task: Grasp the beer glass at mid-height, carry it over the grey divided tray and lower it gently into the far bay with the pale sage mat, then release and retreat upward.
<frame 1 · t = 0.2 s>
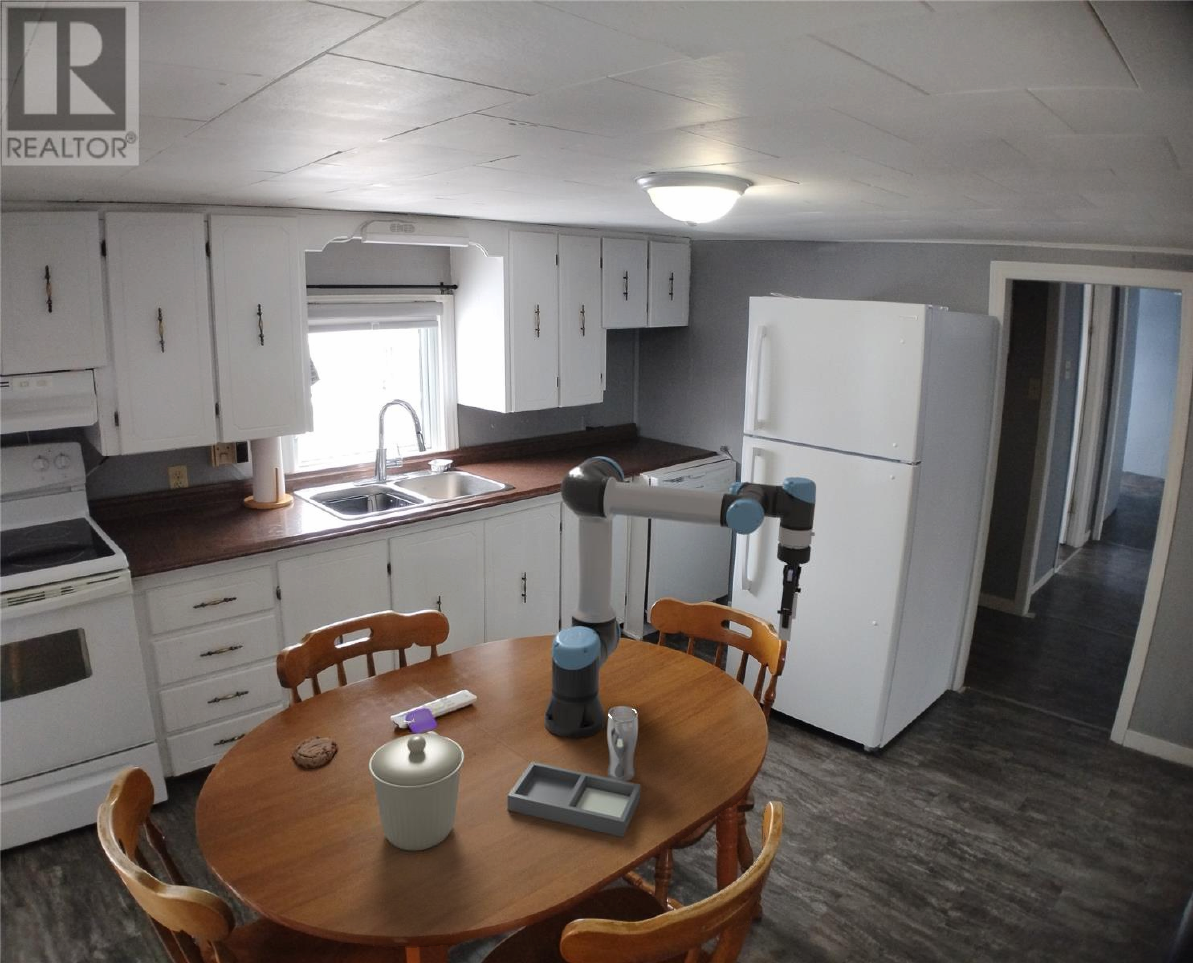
hand: (787, 628, 193), 28 cm above the table, fingers open, 13 cm apart
beer glass: (620, 774, 181), on the table
cookie: (316, 756, 185), on the table
grey divided tray: (574, 804, 170), on the table
spatula: (433, 742, 193), on the table
canister: (419, 833, 160), on the table
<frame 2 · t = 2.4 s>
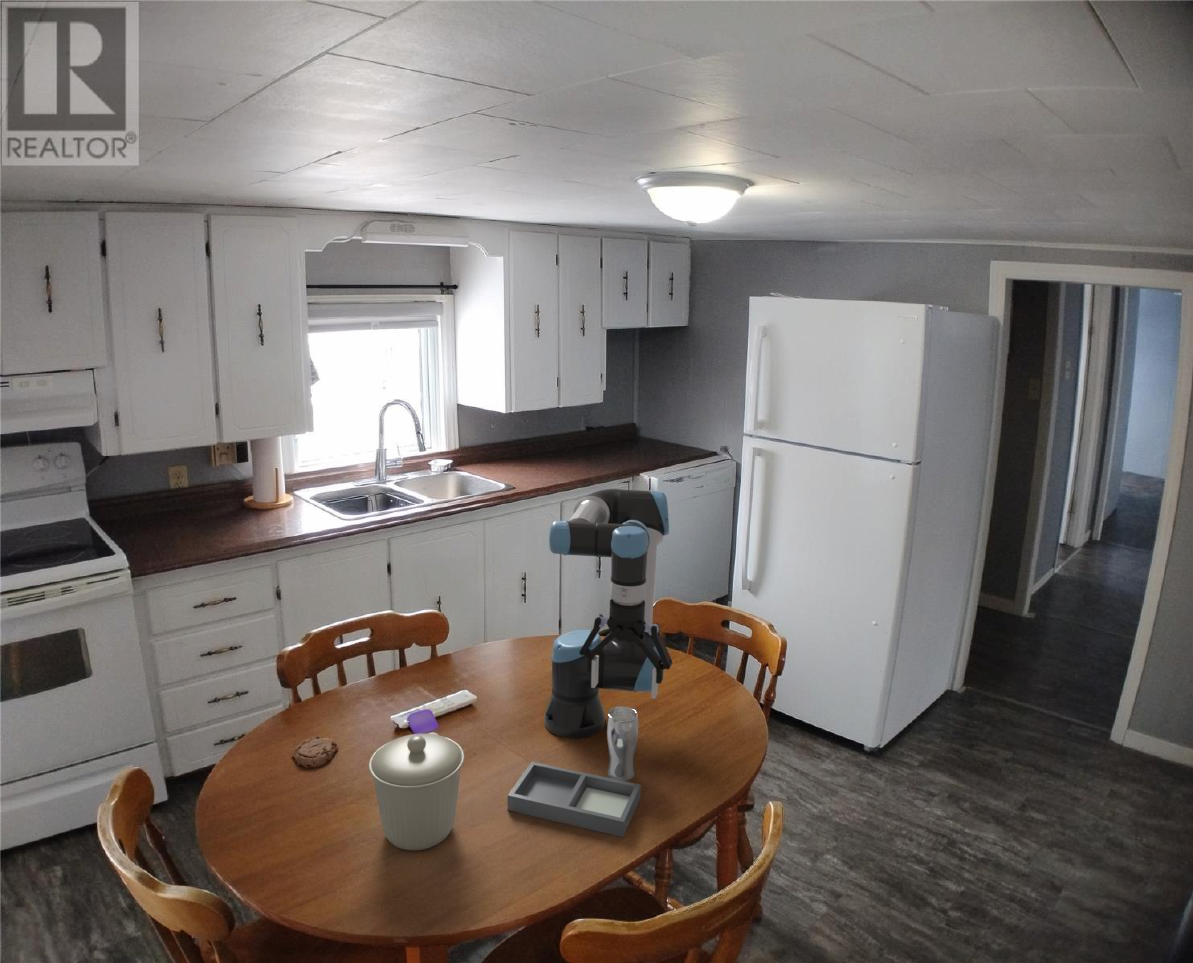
hand: (624, 690, 176), 21 cm above the table, fingers open, 13 cm apart
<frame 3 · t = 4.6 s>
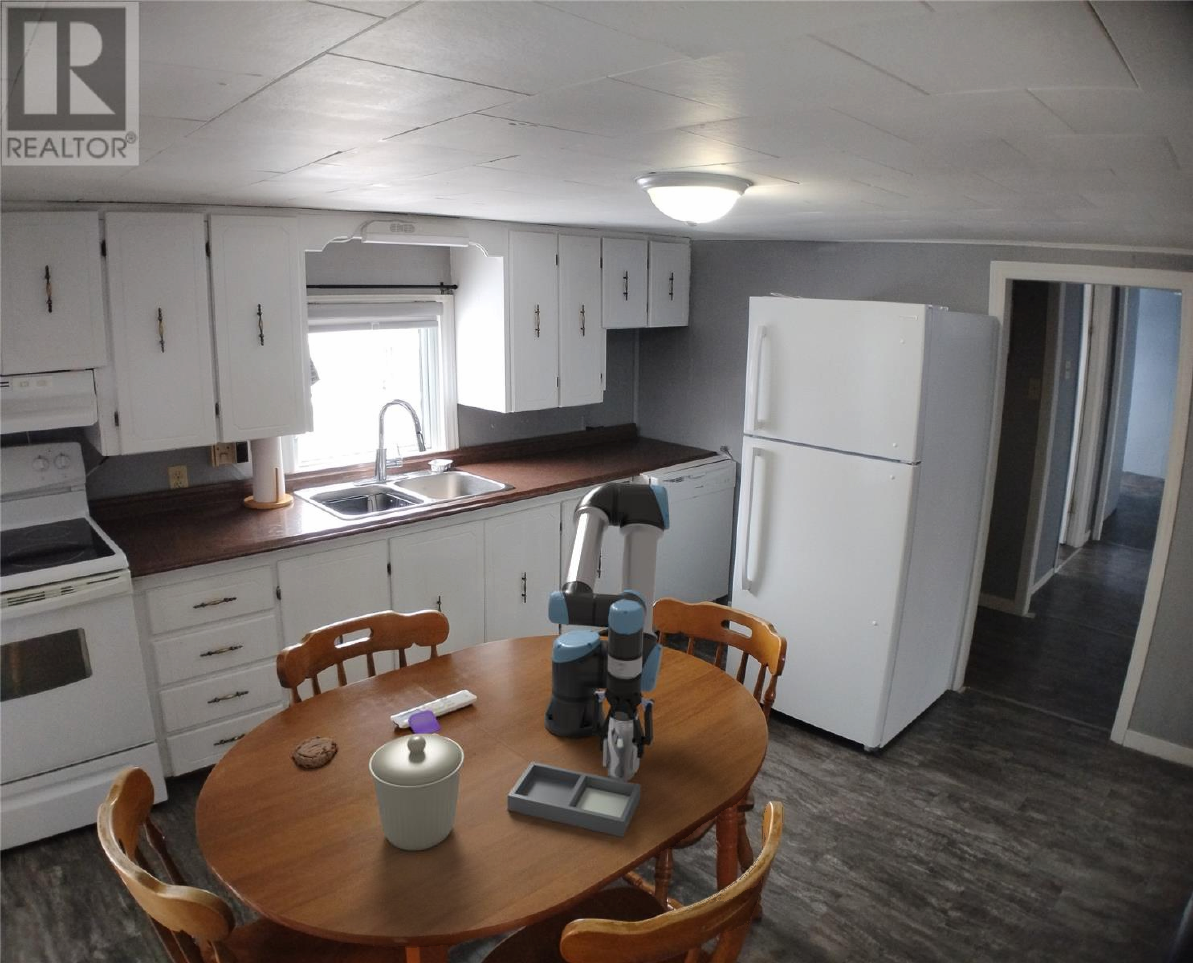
hand: (620, 765, 180), 2 cm above the table, fingers closed on beer glass, 6 cm apart
beer glass: (620, 774, 181), on the table, touching gripper
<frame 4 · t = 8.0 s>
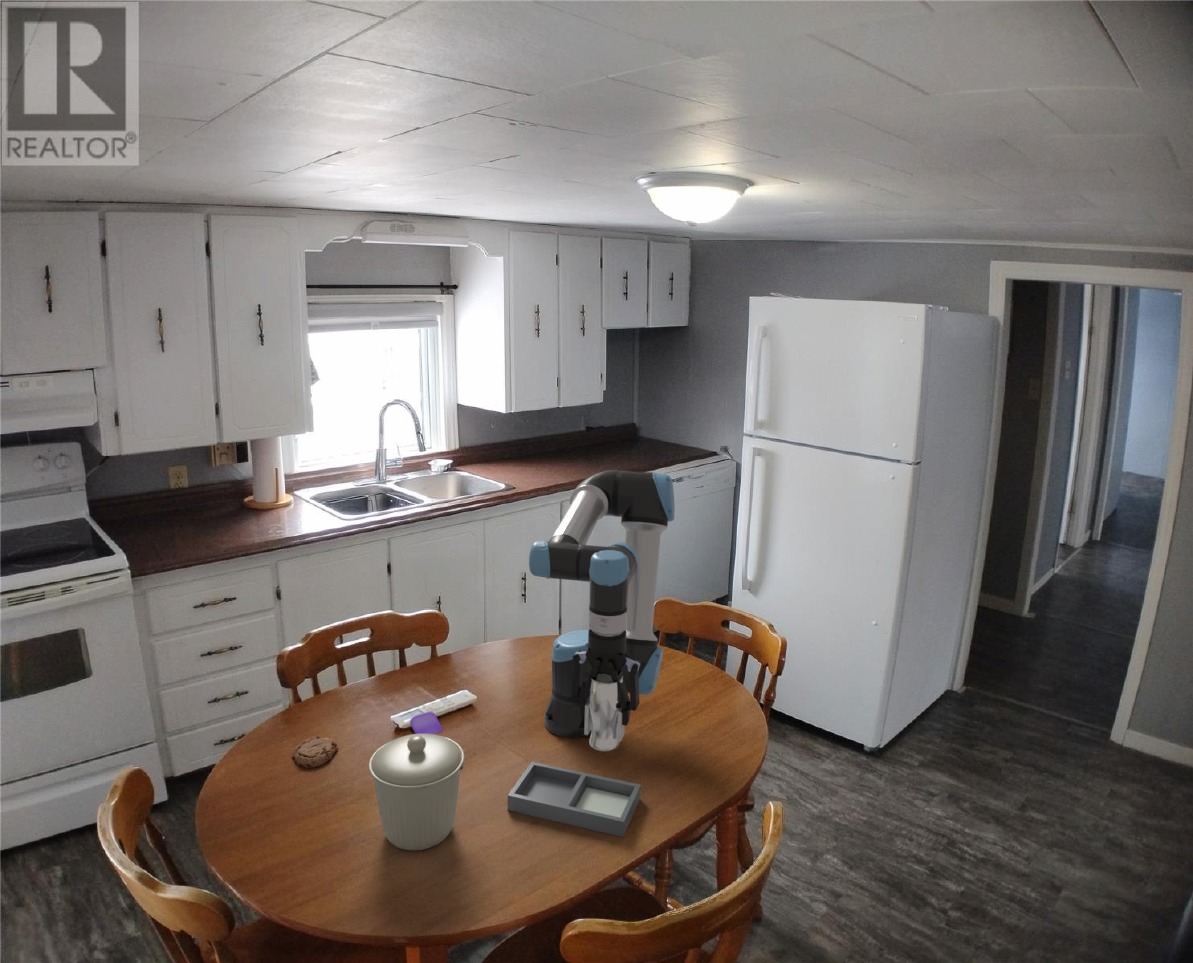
hand: (604, 734, 164), 18 cm above the table, fingers closed on beer glass, 6 cm apart
beer glass: (603, 743, 164), point 16 cm above the table, touching gripper
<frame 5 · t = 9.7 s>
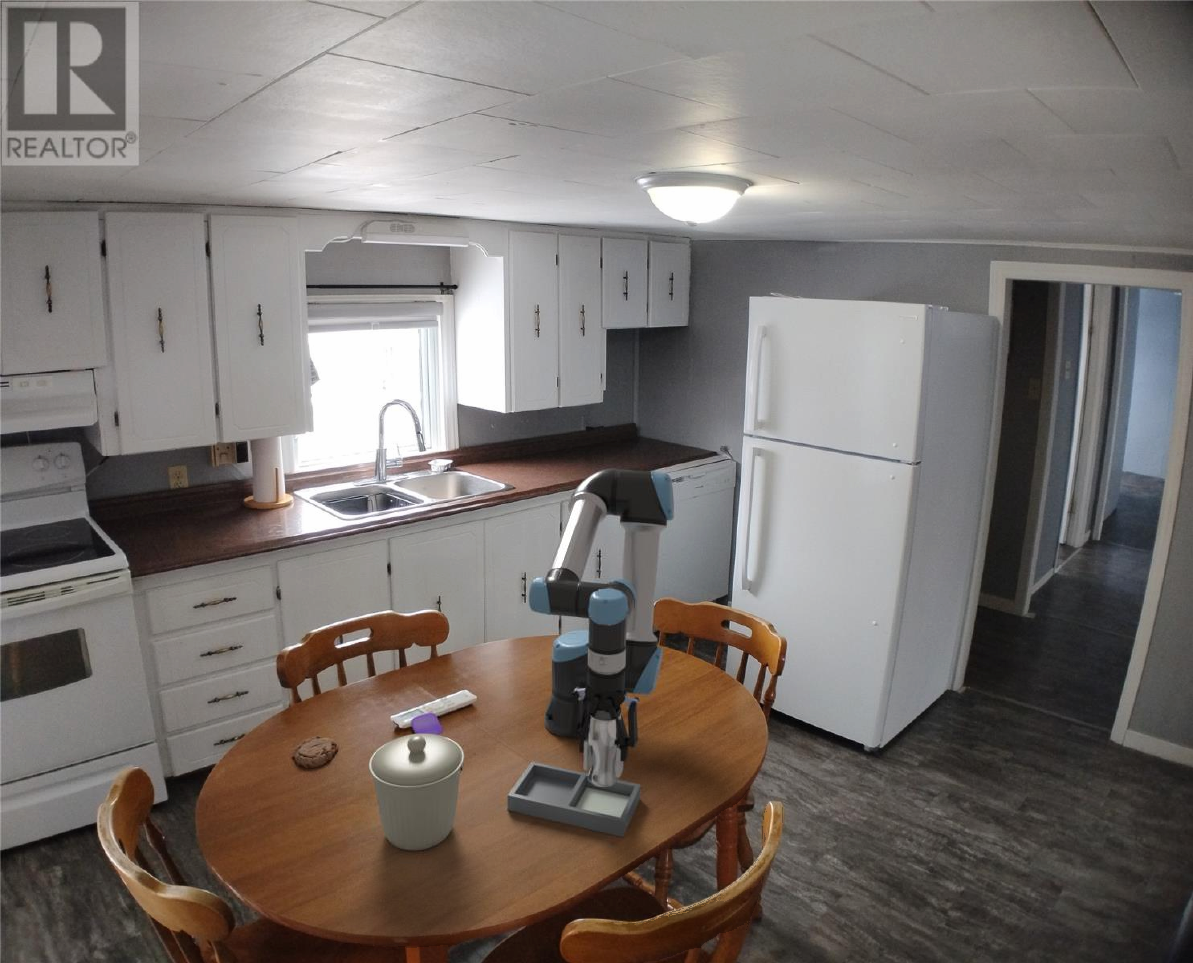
hand: (603, 769, 166), 10 cm above the table, fingers closed on beer glass, 6 cm apart
beer glass: (602, 779, 166), point 7 cm above the table, touching gripper
when the fingers open (5 cm above the table, at t = 11.2 s): beer glass drops 2 cm, resting on grey divided tray.
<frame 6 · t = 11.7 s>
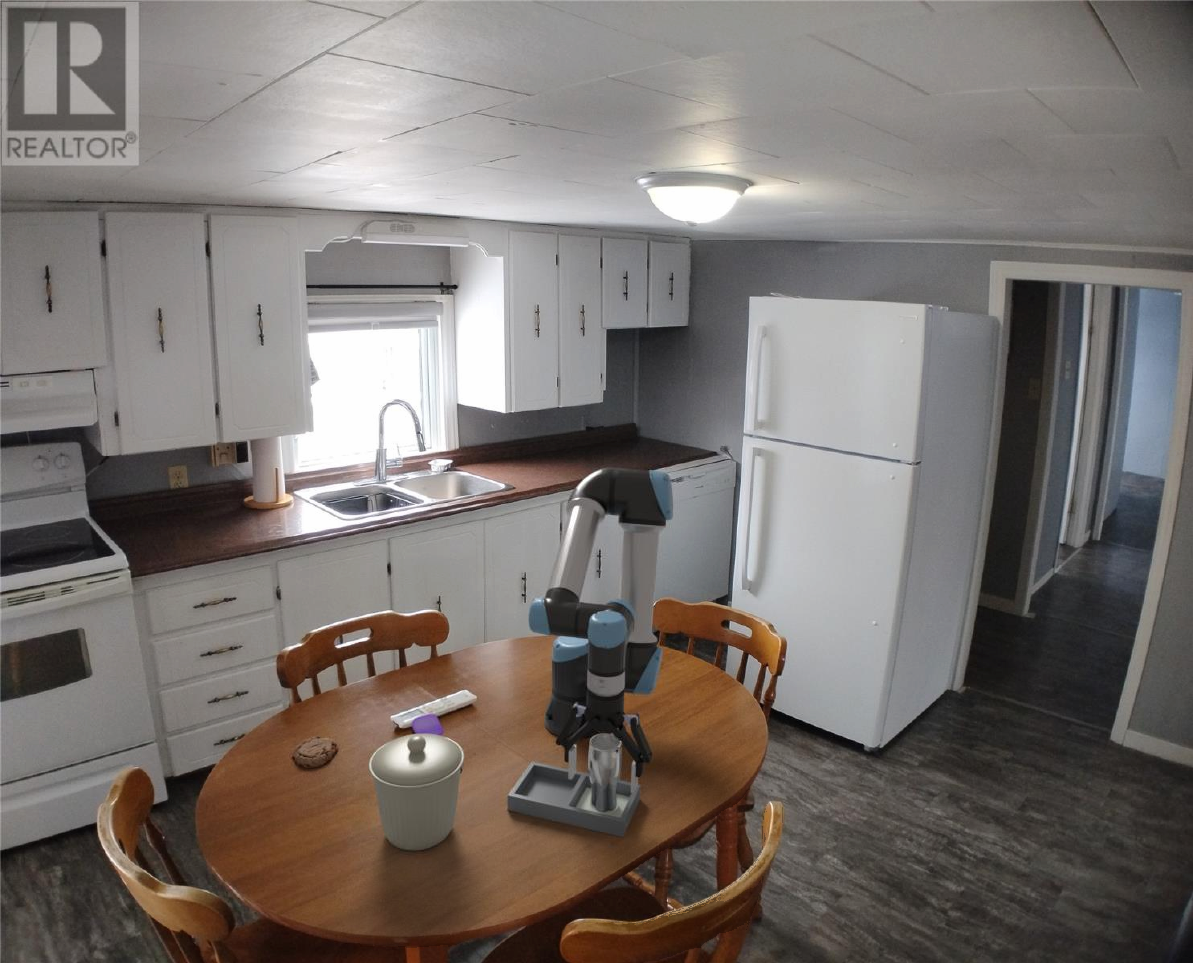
hand: (602, 782, 166), 7 cm above the table, fingers open, 13 cm apart
beer glass: (603, 807, 168), point 1 cm above the table, touching grey divided tray
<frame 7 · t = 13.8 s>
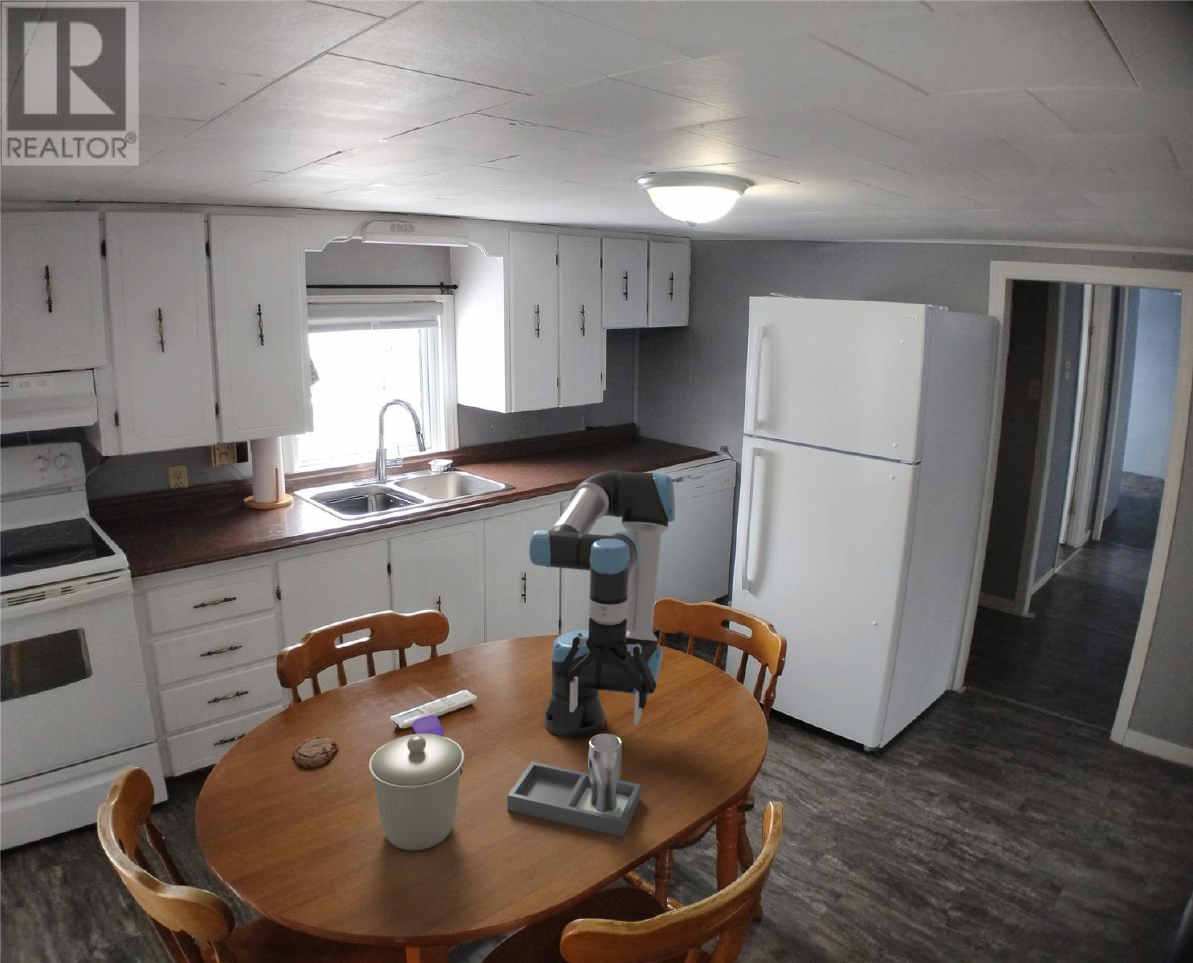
hand: (605, 714, 164), 22 cm above the table, fingers open, 13 cm apart
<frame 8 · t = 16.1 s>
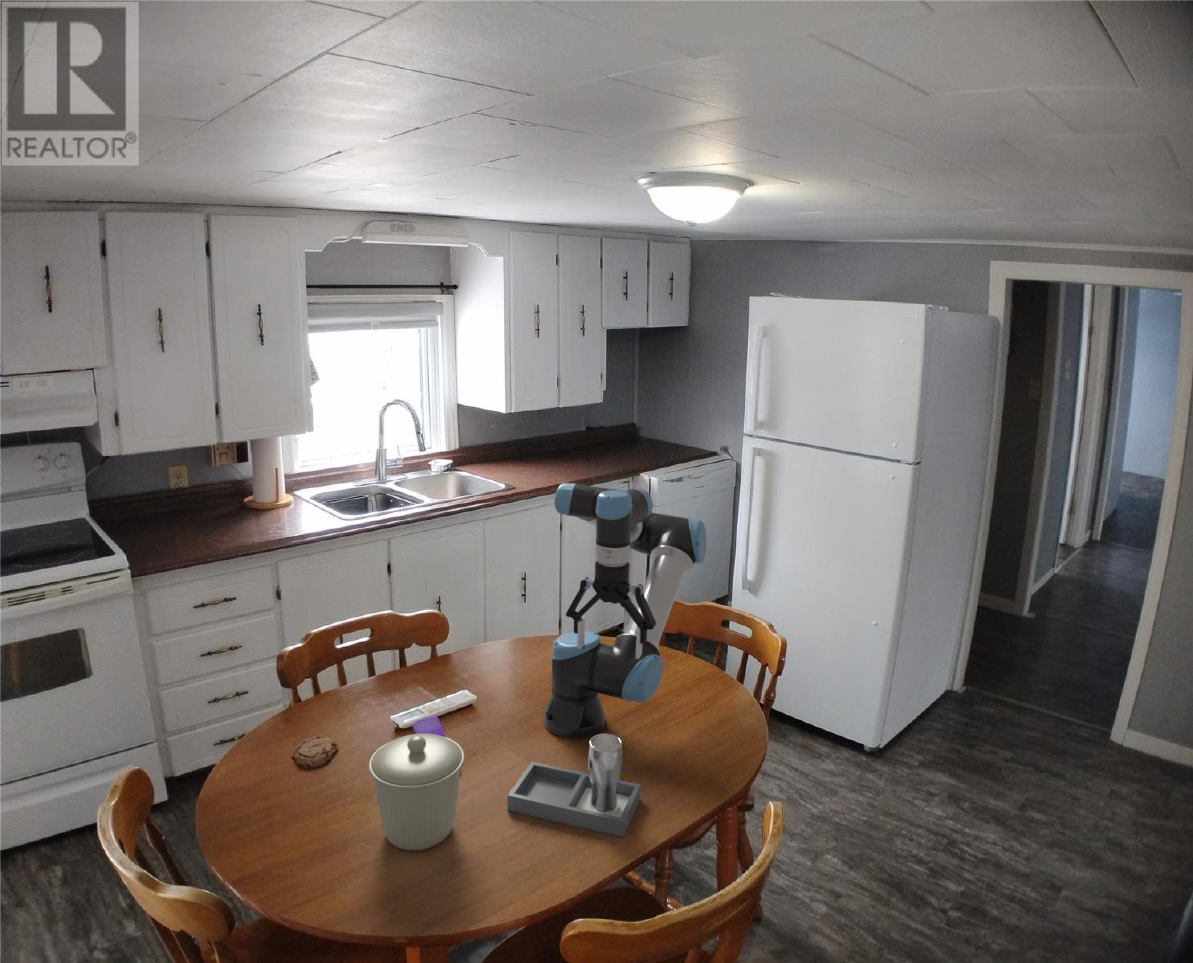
hand: (609, 651, 181), 27 cm above the table, fingers open, 13 cm apart
at the end: beer glass 0.4 cm from the target spot on the grey divided tray, point 0.9 cm above the grey divided tray's base; beer glass tilted 0°; the gripper is holding nothing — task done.
